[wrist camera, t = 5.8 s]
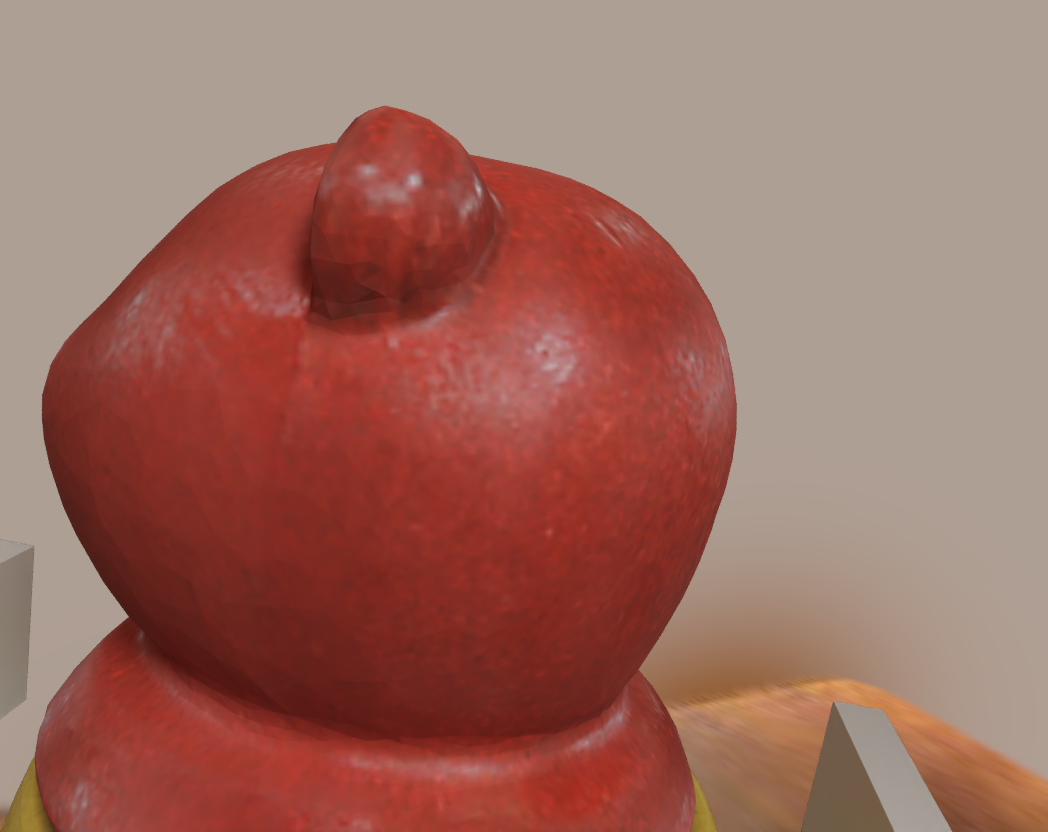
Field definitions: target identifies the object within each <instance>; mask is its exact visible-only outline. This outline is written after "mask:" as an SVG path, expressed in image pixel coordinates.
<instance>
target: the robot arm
mask: <svg viewBox="0 0 1048 832" xmlns="http://www.w3.org/2000/svg"><path fill="white" fill-rule="evenodd" d="M33 560H34V546H32V545H27V544H22V543H17V542H12V541H6V540H1V539H0V719H1V718H2V717H3V716H5V715H6V714H7V713H9V712H10V711H12V710H13V709H14V708H15V707H17V706H18V705H19V704H21V703H22V702H23V701H24V700H26V692H27V673H28V654H29V636H30V635H29V634H30V617H31V597H32V579H33ZM801 832H952V830H951V828H950V827H949V825H948V823H947V821H946V820H945V818H944V816H943V814H942V812H941V811H940V809H939V807H938V805H937V804H936V802H935V800H934V798H933V797H932V795H931V793H930V791H929V789H928V788H927V786H926V784H925V782H924V781H923V779H922V777H921V775H920V773H919V772H918V770H917V768H916V766H915V765H914V763H913V761H912V759H911V758H910V756H909V754H908V752H907V750H906V749H905V747H904V745H903V743H902V742H901V740H900V738H899V736H898V734H897V733H896V731H895V729H894V727H893V726H892V724H891V722H890V720H889V719H888V717H887V715H886V713H885V711H884V710H879V709H874V708H869V707H864V706H858V705H853V704H848V703H843V702H838V701H833V704H832V708H831V712H830V717H829V721H828V725H827V729H826V733H825V737H824V741H823V745H822V749H821V753H820V757H819V761H818V765H817V769H816V773H815V777H814V781H813V785H812V789H811V793H810V797H809V801H808V805H807V809H806V813H805V817H804V821H803V825H802V829H801Z"/></svg>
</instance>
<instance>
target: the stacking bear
mask: <svg viewBox="0 0 1048 832" xmlns="http://www.w3.org/2000/svg"><path fill="white" fill-rule="evenodd" d="M736 405H737V404H736V395H735V386H734V379H733V372H732V367H731V363H730V358H729V353H728V349H727V345H726V340H725V337H724V335H723V332H722V330H721V327H720V325H719V322H718V320H717V317H716V315H715V312H714V310H713V307H712V305H711V303H710V301H709V299H708V298H707V296H706V294H705V293H704V291H703V289H702V287H701V286H700V284H699V282H698V281H697V279H696V278H695V276H694V274H693V273H692V272H691V270H690V269H689V268H688V267H687V265H686V264H685V263H684V262H683V260H682V259H681V258H680V257H679V255H678V254H677V253H676V251H675V250H674V249H673V248H672V246H671V245H670V244H669V243H668V242H667V241H666V240H665V239H664V238H663V237H662V236H661V235H660V234H659V233H658V232H656V231H655V230H654V229H653V228H652V227H651V226H650V225H649V224H648V223H647V222H646V221H645V220H644V219H643V218H642V217H641V216H639V215H638V214H636V213H635V212H633V211H631V210H630V209H628V208H627V207H625V206H624V205H622V204H621V203H619V202H618V201H616V200H614V199H612V198H611V197H609V196H607V195H605V194H603V193H601V192H599V191H598V190H596V189H594V188H592V187H589V186H587V185H585V184H582V183H580V182H577V181H575V180H572V179H570V178H567V177H564V176H560V175H557V174H554V173H551V172H547V171H544V170H541V169H537V168H532V167H527V166H522V165H518V164H513V163H508V162H503V161H499V160H494V159H489V158H484V157H479V156H473V155H469V154H468V152H467V151H466V150H465V149H464V147H463V146H462V145H461V143H460V142H459V141H458V140H457V139H456V138H454V137H453V136H452V135H450V134H449V133H447V132H446V131H445V130H443V129H442V128H440V127H439V126H438V125H436V124H435V123H433V122H432V121H431V120H429V119H426V118H424V117H421V116H419V115H416V114H414V113H411V112H408V111H405V110H401V109H398V108H393V107H389V106H382V107H379V108H375V109H372V110H369V111H367V112H365V113H364V114H362V115H361V116H359V117H357V118H356V119H355V120H354V121H353V122H352V123H351V125H350V126H349V127H348V128H347V129H346V130H345V132H344V133H343V134H342V135H341V137H340V138H339V139H338V141H337V143H331V144H325V145H319V146H315V147H310V148H305V149H301V150H296V151H292V152H288V153H286V154H283V155H281V156H278V157H276V158H273V159H270V160H268V161H266V162H263V163H261V164H258V165H256V166H254V167H252V168H251V169H249V170H247V171H245V172H243V173H242V174H240V175H238V176H236V177H235V178H233V179H231V180H230V181H228V182H227V183H225V184H223V185H222V186H220V187H219V188H217V189H216V190H215V191H214V192H213V193H211V194H210V195H209V196H208V197H207V198H205V199H204V200H203V201H202V202H201V203H200V204H199V205H197V206H196V207H195V208H194V209H193V210H192V211H190V212H189V213H188V214H187V215H186V216H185V217H184V218H183V219H182V220H181V221H180V222H179V223H178V224H177V225H176V226H175V227H174V228H173V229H172V230H171V231H170V232H169V233H168V234H167V235H166V237H164V238H163V239H162V240H161V241H160V242H159V243H158V244H157V245H156V246H155V248H154V249H152V251H150V252H149V254H147V255H146V256H145V257H144V258H143V259H142V260H141V262H140V263H139V264H138V265H137V266H136V267H135V268H134V269H133V270H132V271H131V273H130V274H129V275H128V276H127V277H126V278H125V279H124V280H123V281H122V283H121V284H120V285H119V286H118V287H117V288H116V289H115V290H114V291H113V293H112V294H111V295H110V296H109V297H108V298H107V299H106V300H105V301H104V302H103V303H102V304H101V305H100V306H99V307H98V308H97V309H96V310H95V311H94V312H93V313H92V314H91V315H90V316H89V317H88V318H87V319H86V320H85V321H84V322H83V323H82V324H81V325H80V326H79V327H78V328H77V329H76V330H75V331H74V332H73V333H72V334H71V335H70V336H69V338H68V339H67V340H66V341H65V342H64V344H63V346H62V347H61V349H60V350H59V352H58V354H57V355H56V357H55V358H54V360H53V362H52V363H51V366H50V369H49V373H48V377H47V380H46V383H45V387H44V391H43V394H42V424H43V433H44V441H45V446H46V451H47V455H48V460H49V464H50V468H51V471H52V474H53V477H54V480H55V483H56V486H57V489H58V492H59V495H60V498H61V501H62V504H63V507H64V509H65V511H66V514H67V516H68V518H69V520H70V522H71V524H72V527H73V529H74V531H75V533H76V535H77V537H78V539H79V540H80V542H81V544H82V545H83V547H84V549H85V551H86V553H87V554H88V556H89V558H90V560H91V561H92V563H93V565H94V566H95V568H96V570H97V572H98V573H99V575H100V577H101V579H102V580H103V582H104V583H105V585H106V586H107V587H108V589H109V590H110V592H111V593H112V594H113V596H114V597H115V598H116V600H117V601H118V602H119V604H120V605H121V607H122V608H123V609H124V611H125V612H126V613H127V615H128V616H129V618H127V619H126V620H125V621H123V622H122V623H121V624H120V625H119V626H118V627H116V628H115V629H114V630H113V631H112V632H111V633H109V634H108V635H107V636H106V637H105V638H104V639H103V640H102V641H101V642H100V643H99V644H98V645H97V646H96V647H95V648H94V649H93V650H92V652H90V653H89V654H88V655H87V657H86V658H85V659H84V660H83V661H82V662H81V663H80V664H79V665H78V666H77V667H76V668H75V669H74V671H73V672H72V673H71V675H70V676H69V677H68V679H67V680H66V681H65V683H64V684H63V685H62V687H61V688H60V690H58V692H57V693H56V695H55V696H54V697H53V699H52V700H51V701H50V703H49V705H48V707H47V710H46V714H45V718H44V721H43V723H42V725H41V727H40V730H39V734H38V740H37V746H36V752H35V757H34V758H33V760H32V762H31V764H30V766H29V768H28V770H27V772H26V774H25V776H24V778H23V780H22V782H21V784H20V787H19V789H18V791H17V793H16V795H15V797H14V800H13V802H12V805H11V807H10V810H9V812H8V815H7V817H6V820H5V822H4V824H3V827H2V829H1V832H717V829H716V825H715V821H714V818H713V815H712V813H711V810H710V807H709V805H708V802H707V799H706V797H705V794H704V792H703V790H702V788H701V786H700V784H699V782H698V781H697V779H696V777H695V776H694V774H693V773H692V771H691V770H690V768H689V765H688V761H687V758H686V755H685V752H684V749H683V746H682V743H681V740H680V737H679V734H678V731H677V729H676V726H675V724H674V722H673V720H672V718H671V717H670V715H669V713H668V711H667V709H666V707H665V706H664V704H663V702H662V701H661V699H660V698H659V696H658V694H657V693H656V691H655V690H654V688H653V686H652V685H651V684H650V683H649V682H648V681H647V679H646V678H645V677H644V676H643V674H642V673H641V672H640V671H639V670H638V669H639V668H640V666H641V665H642V663H643V662H644V660H645V659H646V657H647V655H648V654H649V652H650V651H651V649H652V648H653V646H654V645H655V643H656V642H657V640H658V639H659V637H660V636H661V634H662V632H663V631H664V629H665V627H666V625H667V624H668V622H669V620H670V619H671V617H672V615H673V613H674V612H675V610H676V608H677V606H678V605H679V603H680V601H681V600H682V598H683V596H684V594H685V592H686V590H687V588H688V585H689V584H690V581H691V579H692V577H693V575H694V573H695V570H696V568H697V566H698V564H699V562H700V559H701V556H702V554H703V551H704V549H705V546H706V543H707V541H708V538H709V535H710V533H711V530H712V527H713V523H714V520H715V517H716V514H717V511H718V508H719V505H720V503H721V500H722V497H723V494H724V491H725V488H726V484H727V480H728V476H729V472H730V468H731V463H732V459H733V452H734V444H735V437H736V413H737V412H736V410H737V406H736Z"/></svg>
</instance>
